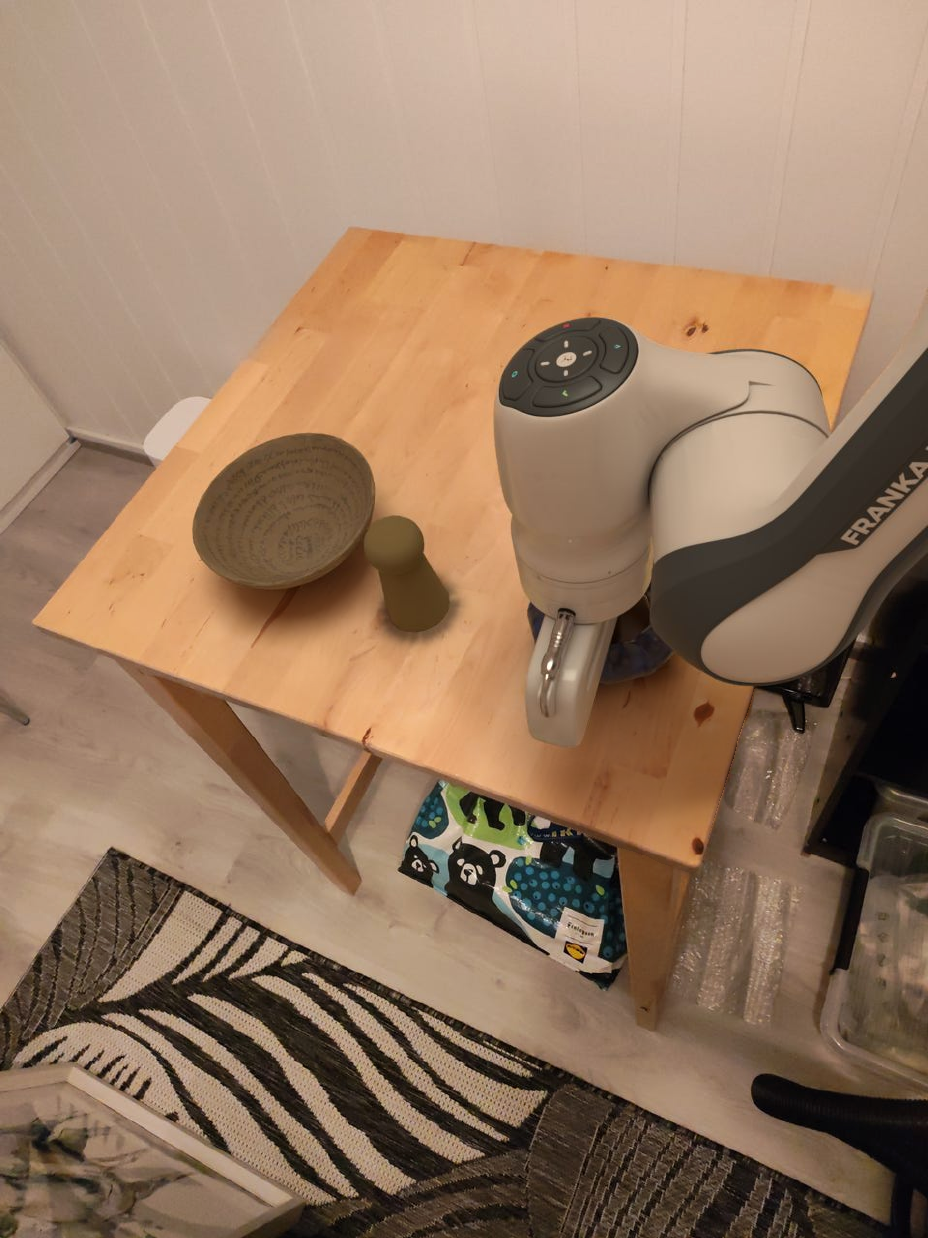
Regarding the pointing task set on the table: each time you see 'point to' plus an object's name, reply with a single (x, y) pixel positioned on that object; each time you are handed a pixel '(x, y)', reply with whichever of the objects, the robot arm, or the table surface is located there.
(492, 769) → the table surface
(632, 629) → the post
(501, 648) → the table surface
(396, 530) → the olive game pawn
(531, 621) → the ring
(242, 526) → the bowl
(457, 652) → the table surface
